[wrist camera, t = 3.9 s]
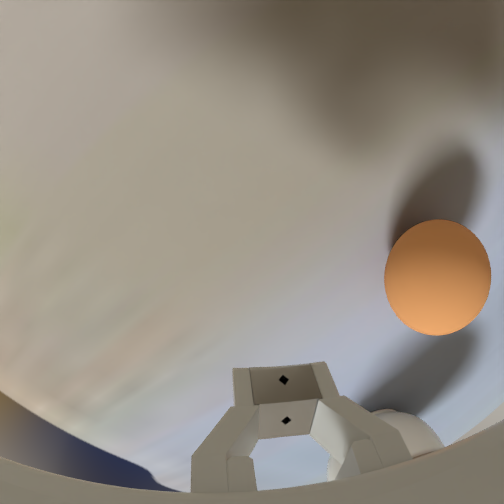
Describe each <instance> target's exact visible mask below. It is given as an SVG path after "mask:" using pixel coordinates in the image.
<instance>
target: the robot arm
mask: <svg viewBox="0 0 504 504" xmlns="http://www.w3.org/2000/svg"><path fill="white" fill-rule="evenodd" d="M233 400H234V406H233V407H230V408H229V409H228V411H227V412H226V413H225V415H224V416H223V417H222V418H221V420H220V421H219V422H218V424H217V425H216V426H215V427H214V429H213V430H212V431H211V432H210V434H209V435H208V436H207V437H206V439H205V440H204V441H203V442H202V444H201V445H200V446H199V447H198V449H197V450H196V451H195V452H194V454H193V455H192V460H191V493H186V492H166V491H152V490H142V489H132V488H125V487H118V486H111V485H105V484H99V483H94V482H89V481H84V480H79V479H74V478H69V477H66V476H62V475H58V474H54V473H50V472H46V471H43V470H39V469H36V468H33V467H29V466H26V465H23V464H20V463H17V462H14V461H11V460H8V459H5V458H3V457H0V504H504V420H502V421H500V422H498V423H496V424H495V425H492V426H490V427H489V428H486V429H484V430H482V431H480V432H479V433H476V434H474V435H472V436H470V437H468V438H466V439H463V440H461V441H458V442H456V443H454V444H451V445H449V446H447V447H444V448H442V449H439V450H437V451H434V452H431V453H429V454H426V455H423V456H420V457H417V458H415V459H413V458H412V456H411V454H410V452H409V450H408V448H407V446H406V444H405V442H404V440H403V438H402V436H401V434H400V432H399V430H398V429H396V428H394V427H393V426H391V425H389V424H388V423H386V422H385V421H383V420H381V419H380V418H378V417H377V416H375V415H374V414H372V413H370V412H369V411H367V410H366V409H364V408H363V407H361V406H359V405H358V404H356V403H355V402H353V401H352V400H350V399H349V398H347V397H346V396H340V395H339V393H338V390H337V388H336V385H335V383H334V381H333V378H332V376H331V373H330V371H329V369H328V366H327V364H326V363H325V362H316V363H309V364H298V365H288V366H277V367H251V368H233ZM306 434H310V436H311V437H312V438H313V439H314V440H315V441H316V442H317V443H318V444H319V445H320V446H322V447H323V448H324V449H325V450H326V451H327V452H328V453H329V454H330V455H331V456H332V457H333V458H335V459H336V460H337V461H338V462H339V463H340V464H341V465H342V466H341V468H340V470H339V472H338V474H337V476H336V478H335V480H332V481H327V482H322V483H316V484H310V485H304V486H297V487H290V488H282V489H273V490H262V491H257V486H256V479H255V472H254V465H253V459H252V458H250V457H249V456H250V454H251V452H252V450H253V449H254V447H255V445H256V443H257V441H258V439H268V438H276V437H285V436H296V435H306Z"/></svg>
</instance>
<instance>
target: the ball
mask: <svg viewBox="0 0 504 504" xmlns="http://www.w3.org/2000/svg"><path fill="white" fill-rule="evenodd" d="M384 283H385V290H386V295H387V298H388V301H389V303H390V306H391V308H392V309H393V311H394V312H395V314H396V315H397V317H398V318H399V319H400V320H401V321H402V322H403V323H404V324H406V325H407V326H408V327H410V328H411V329H413V330H415V331H417V332H420V333H423V334H427V335H446V334H450V333H453V332H456V331H458V330H460V329H462V328H464V327H465V326H466V325H468V324H469V323H470V322H471V321H472V320H474V318H475V317H476V316H477V315H478V314H479V312H480V311H481V309H482V308H483V306H484V304H485V302H486V300H487V297H488V294H489V290H490V284H491V267H490V262H489V258H488V255H487V253H486V251H485V248H484V246H483V245H482V243H481V242H480V240H479V239H478V238H477V237H476V236H475V234H473V233H472V232H471V231H470V230H469V229H467V228H466V227H464V226H463V225H461V224H459V223H456V222H453V221H449V220H443V219H435V220H429V221H424V222H422V223H419V224H417V225H415V226H413V227H412V228H410V229H409V230H407V231H406V232H405V233H404V234H403V235H402V236H401V237H400V238H399V239H398V240H397V242H396V243H395V244H394V246H393V248H392V250H391V252H390V254H389V256H388V259H387V263H386V267H385V276H384Z"/></svg>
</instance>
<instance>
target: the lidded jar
mask: <svg viewBox="0 0 504 504" xmlns="http://www.w3.org/2000/svg"><path fill="white" fill-rule="evenodd" d="M370 413H372V414H374V415H375V416H377V417H378V418H380V419H381V420H383V421H385V422H386V423H388V424H389V425H391V426H393V427H394V428H396V429H398V430H399V432H400V434H401V436H402V438H403V440H404V442H405V444H406V446H407V448H408V450H409V452H410V454H411V456H412V458H413V459H415V458H417V457H420V456H423V455H426V454H429V453H431V452H434V451H437V450H439V449H442V448H444V447H445V446H444V445H443V443H442V441H441V440H440V438H439V437H438V436H437V434H436V433H435V432H434V430H433V429H432V428H431V427H430V426H429V425H428V424H427V423H426V422H424V421H423V420H421V419H420V418H418V417H416V416H414V415H411V414H408V413H403V412H397V411H396V410H393V409H381V410H377V411H373V412H370ZM341 466H342V465H341V464H340V463H339V462H338V461H337V460H336V459H335V458H333V457H332V456H331V455H330V457H329V460H328V465H327V481H332V480H335V478H336V476H337V474H338V472H339V470H340V468H341Z"/></svg>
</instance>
